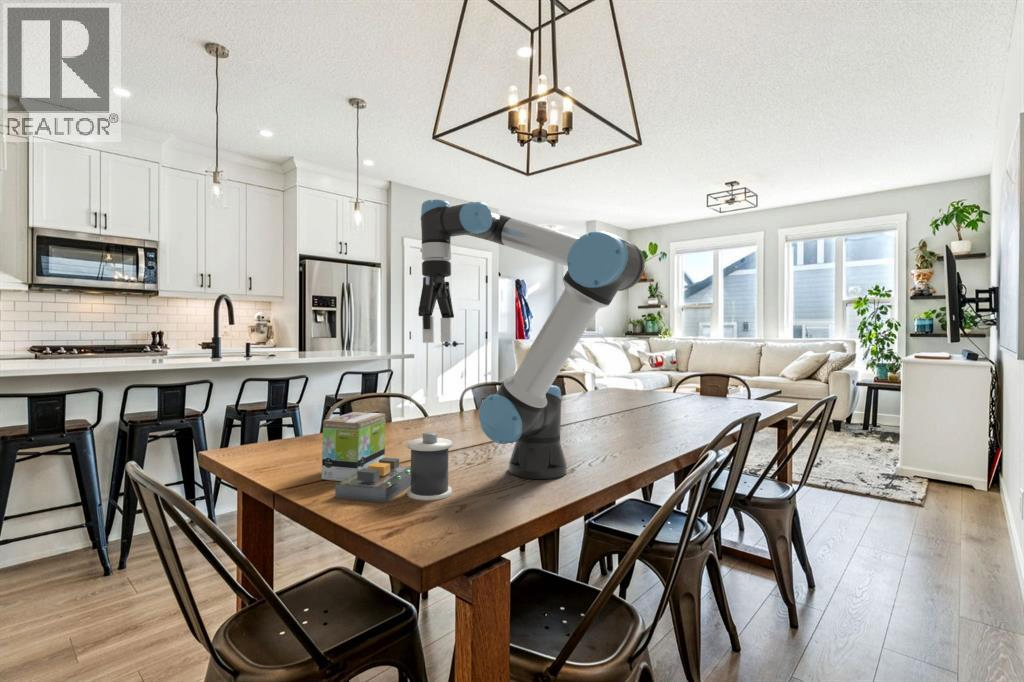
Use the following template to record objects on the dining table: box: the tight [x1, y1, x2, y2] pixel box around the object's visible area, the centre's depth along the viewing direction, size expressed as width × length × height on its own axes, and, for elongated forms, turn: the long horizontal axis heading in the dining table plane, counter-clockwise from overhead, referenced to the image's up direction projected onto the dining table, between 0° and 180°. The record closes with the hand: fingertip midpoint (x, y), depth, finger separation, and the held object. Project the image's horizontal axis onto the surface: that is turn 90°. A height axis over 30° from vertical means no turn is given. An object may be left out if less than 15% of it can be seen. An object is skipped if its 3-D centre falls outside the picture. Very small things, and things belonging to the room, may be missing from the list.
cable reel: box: [406, 431, 453, 502], centre depth 117 cm, size 10×10×14 cm
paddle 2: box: [379, 457, 400, 470], centre depth 125 cm, size 4×3×2 cm, turn 77°
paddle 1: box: [357, 468, 379, 482], centre depth 115 cm, size 4×3×2 cm, turn 77°
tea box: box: [321, 411, 387, 482], centre depth 132 cm, size 15×10×15 cm
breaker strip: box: [334, 466, 411, 504], centre depth 120 cm, size 12×17×3 cm
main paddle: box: [368, 462, 390, 476], centre depth 120 cm, size 4×3×2 cm
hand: (437, 342), depth 136 cm, fingers open, 13 cm apart
